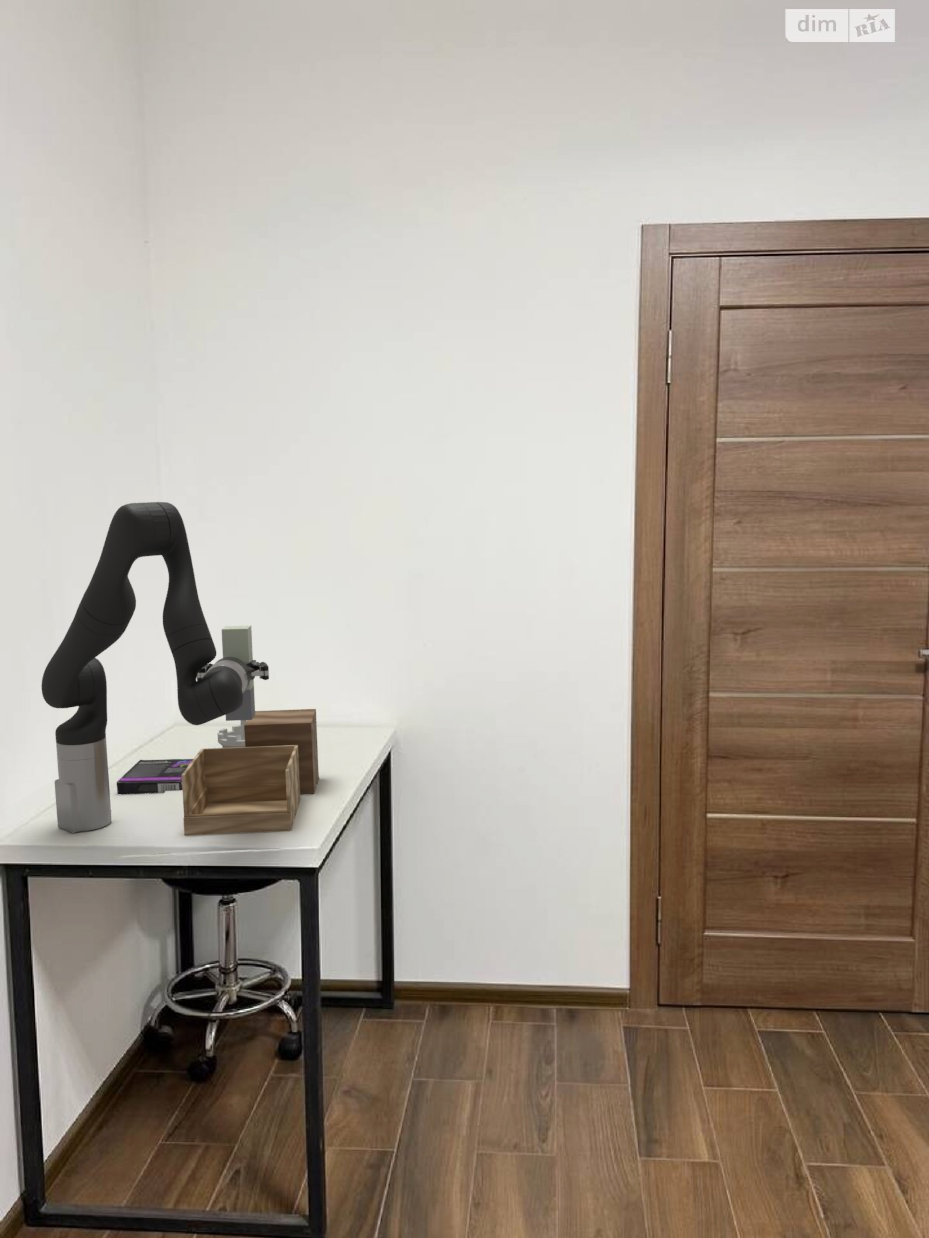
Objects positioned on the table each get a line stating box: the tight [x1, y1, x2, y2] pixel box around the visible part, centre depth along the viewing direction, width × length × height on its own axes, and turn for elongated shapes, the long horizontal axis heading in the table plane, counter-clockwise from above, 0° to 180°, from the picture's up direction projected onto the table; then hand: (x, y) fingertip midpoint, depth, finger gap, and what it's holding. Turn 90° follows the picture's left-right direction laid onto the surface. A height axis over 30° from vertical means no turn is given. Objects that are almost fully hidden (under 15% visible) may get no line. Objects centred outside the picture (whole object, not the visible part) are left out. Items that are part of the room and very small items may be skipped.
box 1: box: [116, 758, 194, 795], centre depth 233 cm, size 14×4×20 cm
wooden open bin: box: [181, 745, 301, 836], centre depth 204 cm, size 21×20×12 cm
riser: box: [244, 708, 320, 796], centre depth 224 cm, size 14×14×16 cm
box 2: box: [221, 625, 256, 722], centre depth 201 cm, size 5×5×18 cm
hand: (240, 665), depth 203 cm, fingers closed on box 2, 5 cm apart
